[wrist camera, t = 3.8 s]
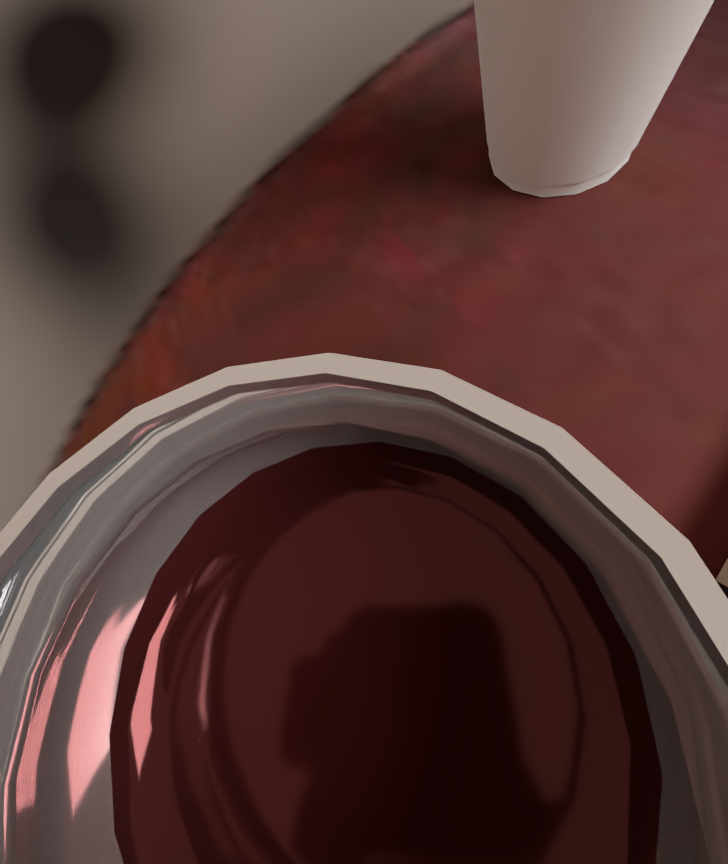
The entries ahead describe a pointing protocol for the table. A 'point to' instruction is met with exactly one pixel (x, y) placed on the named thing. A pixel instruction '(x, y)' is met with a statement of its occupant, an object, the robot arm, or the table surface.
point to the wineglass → (354, 638)
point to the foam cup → (575, 84)
